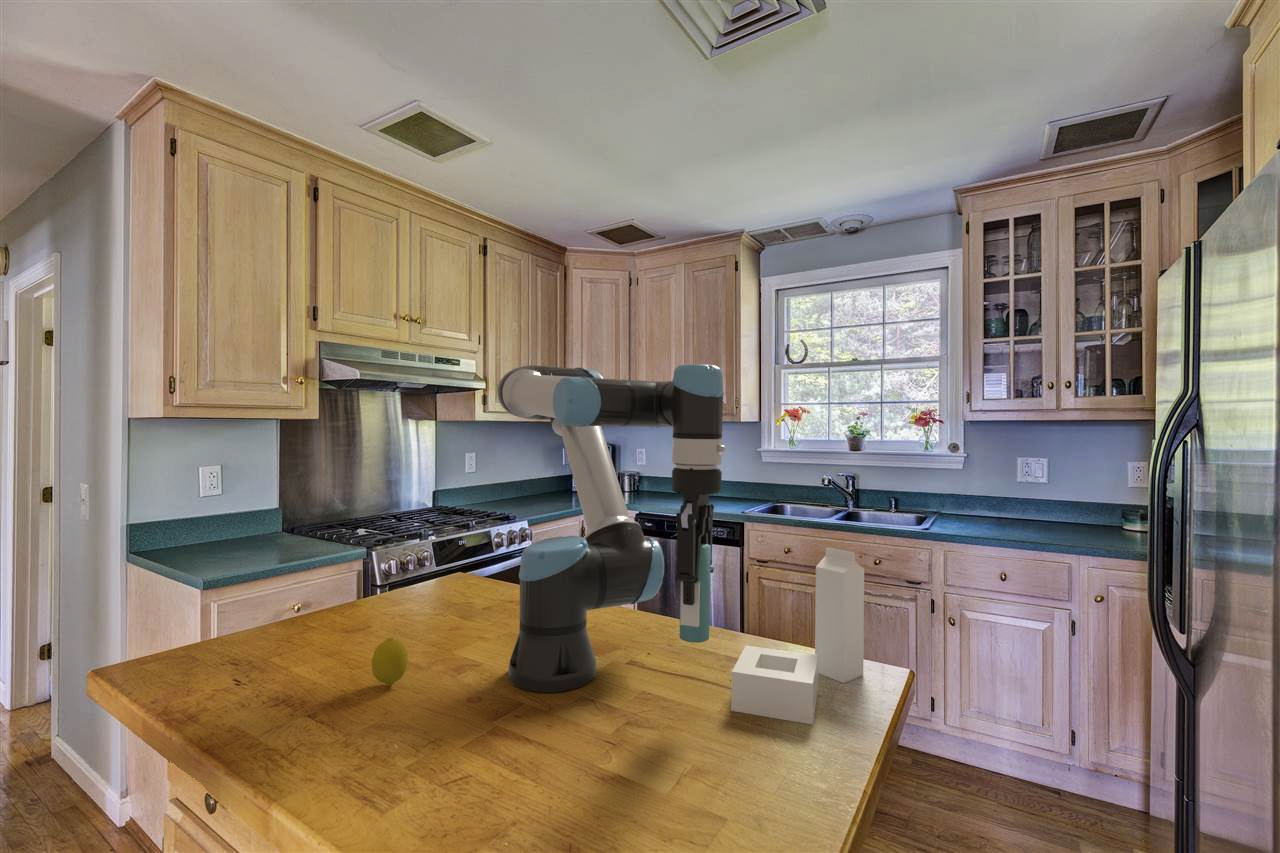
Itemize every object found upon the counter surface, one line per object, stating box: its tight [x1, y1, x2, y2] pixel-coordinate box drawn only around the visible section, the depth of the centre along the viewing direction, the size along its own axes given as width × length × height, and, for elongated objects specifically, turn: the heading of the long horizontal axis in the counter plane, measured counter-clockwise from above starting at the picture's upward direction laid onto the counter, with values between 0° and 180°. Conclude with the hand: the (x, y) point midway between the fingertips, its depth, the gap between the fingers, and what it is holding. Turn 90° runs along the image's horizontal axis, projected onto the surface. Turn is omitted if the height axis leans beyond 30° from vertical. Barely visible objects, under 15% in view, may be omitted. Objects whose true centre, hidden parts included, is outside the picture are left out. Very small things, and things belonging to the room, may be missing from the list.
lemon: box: [371, 637, 409, 687], centre depth 100 cm, size 6×6×8 cm
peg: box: [679, 543, 711, 644], centre depth 92 cm, size 4×4×14 cm
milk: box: [814, 547, 865, 684], centre depth 107 cm, size 6×6×22 cm
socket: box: [730, 645, 819, 725], centre depth 96 cm, size 12×12×6 cm
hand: (694, 619), depth 92 cm, fingers closed on peg, 4 cm apart
